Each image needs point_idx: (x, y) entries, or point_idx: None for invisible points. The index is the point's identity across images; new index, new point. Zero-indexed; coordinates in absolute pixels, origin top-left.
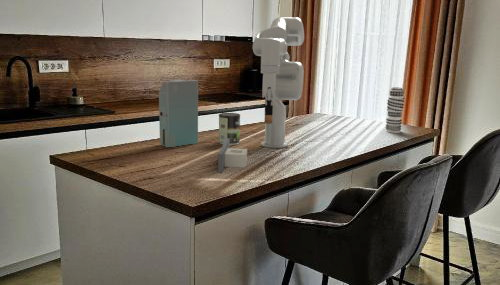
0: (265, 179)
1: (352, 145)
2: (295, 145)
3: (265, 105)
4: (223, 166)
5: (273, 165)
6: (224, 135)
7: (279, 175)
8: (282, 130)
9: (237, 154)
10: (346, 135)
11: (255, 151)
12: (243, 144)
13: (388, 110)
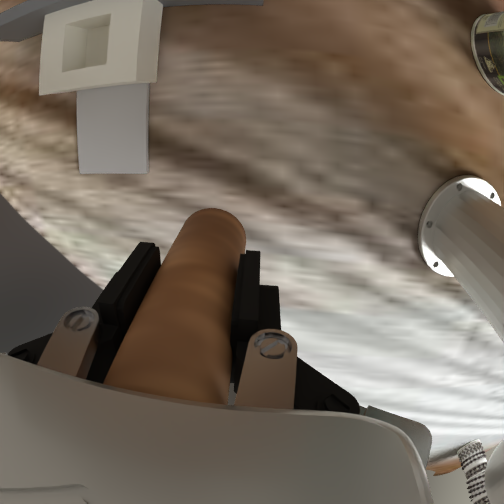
0: (5, 168)
1: (398, 413)
2: (444, 296)
3: (100, 307)
4: (33, 30)
5: (136, 189)
6: (498, 21)
7: (40, 206)
8: (464, 287)
9: (41, 62)
10: (483, 399)
11: (374, 128)
12: (485, 103)
13: (483, 471)
